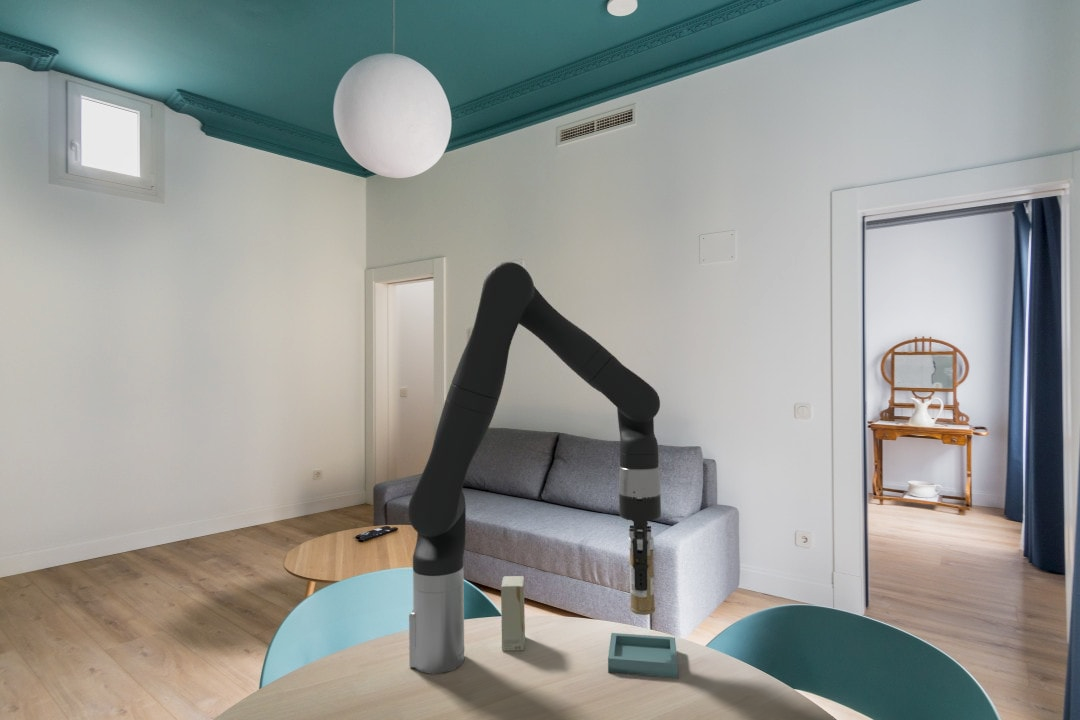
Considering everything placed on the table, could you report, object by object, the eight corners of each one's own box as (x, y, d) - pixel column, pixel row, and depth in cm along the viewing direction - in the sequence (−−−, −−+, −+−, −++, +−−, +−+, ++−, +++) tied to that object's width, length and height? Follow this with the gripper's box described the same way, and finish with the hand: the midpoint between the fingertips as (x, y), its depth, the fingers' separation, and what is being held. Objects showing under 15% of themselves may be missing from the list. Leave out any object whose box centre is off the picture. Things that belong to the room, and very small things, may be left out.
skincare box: (524, 651, 109) (523, 586, 110) (501, 651, 109) (500, 587, 110) (525, 635, 116) (524, 574, 116) (503, 636, 116) (503, 575, 116)
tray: (608, 672, 101) (608, 658, 101) (611, 645, 111) (611, 632, 111) (678, 678, 99) (677, 663, 99) (675, 650, 109) (675, 637, 109)
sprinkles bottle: (660, 612, 105) (658, 537, 105) (641, 618, 102) (640, 541, 102) (642, 603, 108) (641, 532, 109) (624, 609, 106) (623, 536, 106)
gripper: (620, 483, 113) (622, 570, 113) (617, 499, 99) (618, 598, 99) (659, 484, 112) (661, 572, 112) (661, 500, 98) (663, 601, 98)
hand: (641, 584), depth 105 cm, fingers closed on sprinkles bottle, 4 cm apart
